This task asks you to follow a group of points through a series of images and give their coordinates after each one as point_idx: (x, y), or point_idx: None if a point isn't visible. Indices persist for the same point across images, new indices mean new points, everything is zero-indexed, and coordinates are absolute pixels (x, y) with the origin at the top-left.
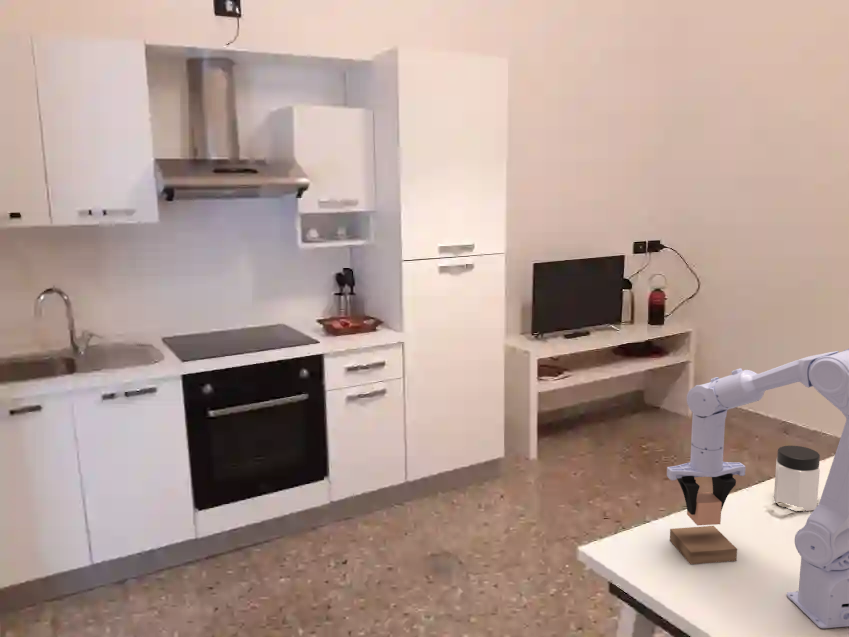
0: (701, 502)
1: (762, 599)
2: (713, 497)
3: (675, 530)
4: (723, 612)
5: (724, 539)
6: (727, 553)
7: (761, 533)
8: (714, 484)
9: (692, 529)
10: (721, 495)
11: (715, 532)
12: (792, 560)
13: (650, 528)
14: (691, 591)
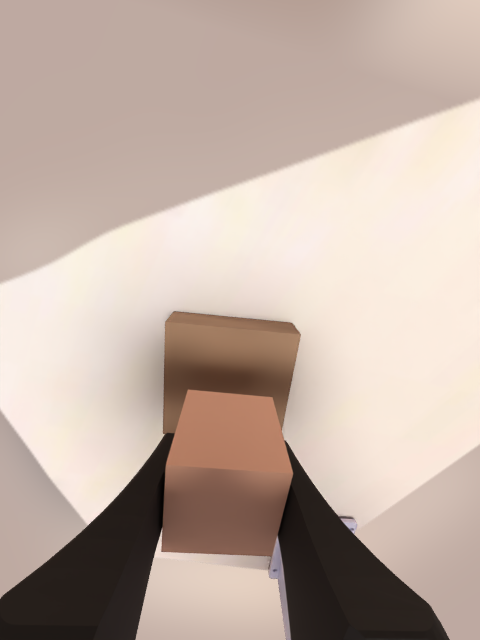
0: (179, 548)
1: None
2: (265, 521)
3: (176, 333)
4: None
5: (279, 402)
6: None
7: (418, 333)
8: (307, 565)
9: (228, 339)
10: (285, 579)
11: (280, 368)
12: (382, 437)
13: (149, 235)
14: (129, 481)
